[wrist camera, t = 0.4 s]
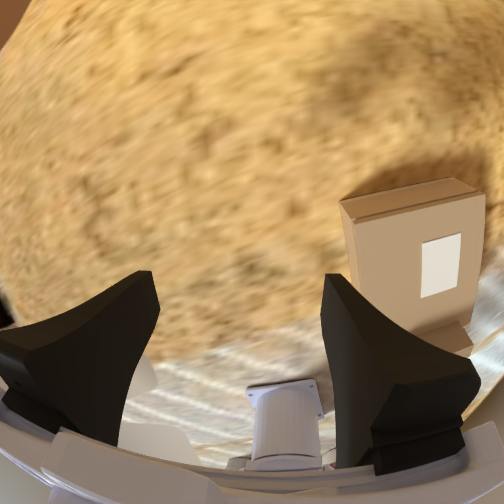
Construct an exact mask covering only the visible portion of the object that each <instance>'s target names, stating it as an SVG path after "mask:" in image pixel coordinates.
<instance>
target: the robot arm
mask: <svg viewBox="0 0 504 504" xmlns="http://www.w3.org/2000/svg"><path fill="white" fill-rule="evenodd" d="M159 313H160V305H159V301H158V297H157V293H156V289H155V285H154V281H153V276H152V272H151V271H140V270H139V271H137V272H135V273H133V274H131V275H129V276H127V277H126V278H124V279H122V280H121V281H119V282H118V283H116V284H114V285H113V286H111V287H110V288H108V289H106V290H105V291H103V292H102V293H100V294H98V295H96V296H95V297H93V298H91V299H90V300H88V301H86V302H84V303H83V304H81V305H79V306H77V307H75V308H73V309H71V310H69V311H66V312H64V313H62V314H59V315H57V316H54V317H52V318H49V319H47V320H44V321H41V322H38V323H34V324H31V325H27V326H23V327H19V328H14V329H8V330H2V331H0V376H1V378H2V379H3V380H4V382H5V383H6V384H7V385H8V387H9V389H8V390H7V392H5V391H4V390H3V389H2V388H1V387H0V453H2V454H3V455H4V456H6V457H7V458H8V459H10V460H11V461H12V462H14V463H15V464H17V465H18V466H19V467H21V468H22V469H24V470H25V471H27V472H28V473H29V474H31V475H32V476H34V477H36V478H37V479H39V480H40V481H42V482H43V483H45V484H47V485H48V486H50V487H52V488H53V489H52V491H51V494H50V497H49V499H48V502H47V504H468V503H470V502H472V501H474V500H475V499H477V498H479V497H481V496H483V495H485V494H486V493H488V492H490V491H491V490H493V489H494V488H496V487H498V486H499V485H501V484H502V483H504V448H503V444H502V442H501V439H500V436H499V434H498V431H497V429H496V426H495V424H494V421H490V422H487V423H485V424H483V425H480V426H478V427H475V428H473V429H471V430H468V431H467V432H465V433H464V434H462V433H461V430H460V427H461V426H462V425H463V420H462V417H461V414H462V413H463V412H464V411H465V409H466V408H467V407H468V406H469V404H470V403H471V402H472V401H473V399H474V398H475V396H476V395H477V393H478V391H479V389H480V386H481V379H480V377H479V375H478V373H477V371H476V369H475V367H474V366H473V364H472V362H471V360H470V359H468V358H465V357H462V356H459V355H457V354H454V353H451V352H448V351H445V350H443V349H441V348H439V347H436V346H434V345H432V344H430V343H428V342H426V341H424V340H422V339H420V338H419V337H417V336H415V335H413V334H412V333H410V332H408V331H407V330H405V329H403V328H402V327H400V326H399V325H398V324H396V323H395V322H393V321H392V320H391V319H389V318H388V317H387V316H385V315H384V314H383V313H382V312H380V311H379V310H378V309H377V308H376V307H374V306H373V305H372V304H371V303H370V302H369V301H368V300H367V299H366V298H365V297H363V296H362V295H361V294H360V293H359V292H358V291H357V290H356V289H355V288H354V287H353V286H352V285H351V284H350V283H349V282H348V281H347V280H346V279H345V278H344V277H343V276H342V275H341V274H325V282H324V290H323V298H322V306H321V313H320V316H321V327H322V335H323V340H324V345H325V349H326V354H327V358H328V363H329V367H330V372H331V377H332V382H333V390H334V402H335V420H336V470H335V469H334V468H333V467H331V466H330V465H329V464H324V465H323V466H322V457H320V443H319V428H318V420H322V419H324V414H323V410H322V406H321V401H320V397H319V393H318V389H317V385H316V381H315V380H314V379H308V380H302V381H296V382H290V383H283V384H277V385H269V386H261V387H253V388H247V389H246V390H245V393H246V395H247V397H248V398H249V400H250V402H251V404H252V405H253V407H254V409H255V410H256V411H255V423H254V434H253V445H252V456H251V460H248V461H247V463H246V468H241V469H239V470H227V469H217V468H209V467H202V466H195V465H189V464H183V463H178V462H173V461H168V460H163V459H159V458H154V457H150V456H146V455H142V454H138V453H135V452H131V451H128V450H124V449H121V448H118V447H117V445H118V437H119V429H120V423H121V419H122V414H123V409H124V405H125V401H126V397H127V393H128V389H129V386H130V383H131V380H132V377H133V374H134V371H135V368H136V366H137V364H138V362H139V360H140V358H141V356H142V354H143V352H144V350H145V347H146V345H147V343H148V341H149V339H150V337H151V335H152V333H153V331H154V328H155V325H156V322H157V319H158V316H159Z"/></svg>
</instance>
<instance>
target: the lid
mask: <svg viewBox="0 0 504 504" xmlns="http://www.w3.org/2000/svg"><path fill="white" fill-rule="evenodd" d="M485 200H486V194H485V193H483V192H481V191H480V192H475V193H471V194H466V195H462V196H458V197H453V198H449V199H444V200H440V201H436V202H431V203H427V204H423V205H418V206H414V207H410V208H405V209H401V210H397V211H392V212H388V213H384V214H379V215H375V216H371V217H367V218H362V219H358V220H354V221H352V224H353V230H354V237H355V243H356V250H357V258H358V266H359V274H360V283H361V293H362V296H363V297H365V298H366V299H367V300H368V301H369V302H370V303H371V304H372V305H373V306H374V307H376V308H377V309H378V310H379V311H380V312H382V313H383V314H384V315H385V316H387V317H388V318H389V319H391V320H392V321H393V322H395V323H396V324H398V325H399V326H400V327H402V328H403V329H405V330H407V331H408V332H410V333H412V334H413V335H415V336H417V337H419V338H420V339H422V340H424V341H426V342H428V343H430V344H432V345H434V346H436V347H439V348H441V349H443V350H445V351H448V352H451V353H454V354H457V355H459V356H462V357H465V358H466V357H469V356H470V354H471V351H472V348H473V345H474V344H473V343H472V341H471V339H470V338H469V336H468V335H467V333H466V331H465V330H464V329H465V328H467V327H469V325H470V321H471V316H472V312H473V308H474V303H475V298H476V293H477V287H478V281H479V275H480V268H481V260H482V252H483V241H484V228H485Z"/></svg>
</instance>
